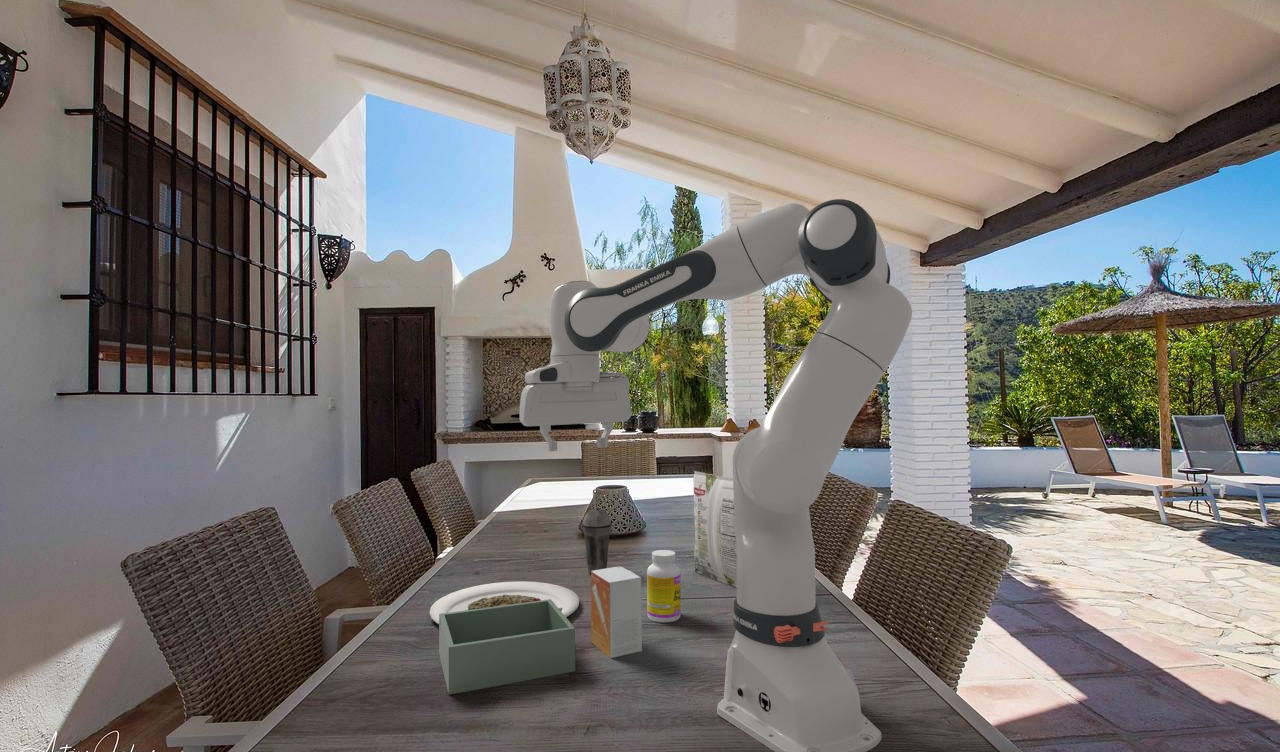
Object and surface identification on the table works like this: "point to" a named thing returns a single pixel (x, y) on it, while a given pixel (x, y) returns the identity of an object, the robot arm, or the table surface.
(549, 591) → the plated food
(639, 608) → the small box
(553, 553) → the table surface
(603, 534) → the beverage cup
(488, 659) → the tote
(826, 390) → the robot arm
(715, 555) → the frozen beans
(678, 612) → the supplement bottle
